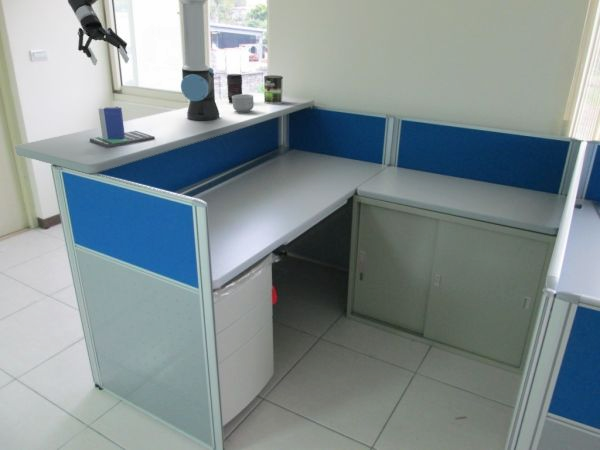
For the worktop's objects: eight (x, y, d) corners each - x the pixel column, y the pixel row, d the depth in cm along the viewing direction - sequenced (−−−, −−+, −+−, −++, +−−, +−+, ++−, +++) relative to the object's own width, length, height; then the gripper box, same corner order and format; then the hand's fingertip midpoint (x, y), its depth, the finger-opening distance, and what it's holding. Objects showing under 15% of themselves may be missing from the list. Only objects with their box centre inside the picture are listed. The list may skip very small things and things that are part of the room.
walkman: (125, 137, 197) (121, 106, 192) (123, 139, 195) (119, 107, 190) (104, 137, 197) (100, 106, 192) (102, 139, 194) (98, 107, 189)
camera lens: (244, 101, 283) (244, 74, 277) (239, 104, 276) (238, 75, 270) (231, 100, 285) (230, 73, 279) (225, 103, 278) (224, 74, 272)
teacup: (252, 113, 252) (252, 97, 249) (230, 113, 252) (230, 97, 249) (255, 108, 264) (255, 93, 261) (234, 108, 265) (234, 92, 261)
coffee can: (275, 104, 276) (275, 78, 270) (260, 102, 281) (260, 76, 275) (286, 102, 284) (286, 76, 279) (271, 100, 289) (271, 74, 284)
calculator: (136, 133, 210) (136, 130, 209) (154, 139, 201) (154, 136, 200) (89, 141, 196) (89, 137, 196) (107, 147, 187) (106, 144, 187)
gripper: (115, 26, 218) (137, 66, 214) (56, 27, 201) (79, 70, 198) (119, 13, 212) (142, 53, 209) (60, 13, 196) (83, 57, 192)
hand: (111, 62), depth 203 cm, fingers open, 13 cm apart
